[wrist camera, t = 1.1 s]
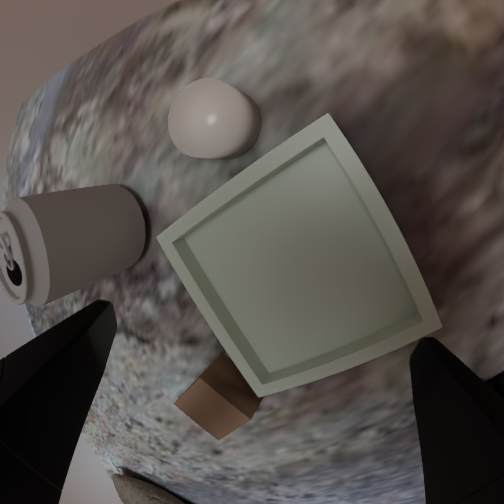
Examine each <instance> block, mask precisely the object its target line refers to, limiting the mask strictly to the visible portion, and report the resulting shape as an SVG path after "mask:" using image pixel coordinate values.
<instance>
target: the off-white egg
mask: <svg viewBox="0 0 504 504" xmlns="http://www.w3.org/2000/svg"><path fill="white" fill-rule="evenodd" d="M168 130H169V134H170V137H171V139H172V141H173V143H174V144H175V146H176V147H177V148H178V149H179V150H180V151H181V152H183V153H184V154H186V155H188V156H191V157H195V158H211V159H233V158H237V157H239V156H241V155H243V154H245V153H246V152H247V151H248V150H250V148H251V147H252V146H253V145H254V144H255V142H256V140H257V139H258V136H259V134H260V130H261V114H260V111H259V108H258V106H257V104H256V103H255V102H254V100H253V99H252V98H251V97H249V96H248V95H246V94H245V93H243V92H241V91H240V90H238V89H236V88H234V87H232V86H231V85H229V84H227V83H225V82H223V81H221V80H218V79H214V78H204V79H199V80H196V81H194V82H192V83H190V84H188V85H187V86H186V87H184V88H183V89H182V90H181V91H180V92H179V93H178V95H177V96H176V98H175V99H174V101H173V103H172V105H171V108H170V111H169V116H168Z"/></svg>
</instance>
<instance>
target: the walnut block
mask: <svg viewBox="0 0 504 504" xmlns="http://www.w3.org/2000/svg"><path fill="white" fill-rule="evenodd" d="M263 397H264V396H263ZM263 397H259V398H258V396H257V395H256V393H255V392H254V391H253V389H252V388H251V386H250V385H249V384H248V382H247V381H246V379H245V378H244V376H243V375H242V374H241V372H240V371H239V369H238V368H237V366H236V365H235V363H234V362H233V361H232V360H231V359H230V358H228V357H227V356H226V355H225V354H224V353H223V352H222V353H221V354H220V355H219V356H218V357H217V358H216V359H215V360H214V361H213V363H212V364H211V365H210V366H209V367H208V368H207V369H206V370H205V371H204V372H203V373H202V374H201V375H200V376H199V377H198V378H197V379H196V380H195V381H194V383H193V384H192V385H191V386H190V387H189V388H188V389H187V390H186V391H185V392H184V393H183V394H182V396H181V397H180V398H179V399H178V400H177V401H176V402H175V403H174V404H175V405H176V406H177V407H178V408H179V409H180V410H182V411H183V412H184V413H185V414H186V415H187V416H189V417H190V418H191V419H192V420H193V421H195V422H196V423H197V424H198V425H200V426H201V427H202V428H203V429H205V430H206V431H207V432H208V433H210V434H211V435H212V436H213V437H215V438H216V439H217V440H220V439H222V438H223V437H225V436H226V435H228V434H229V433H231V432H233V431H234V430H236V429H237V428H239V427H240V426H242V425H243V424H245V423H246V422H248V421H249V420H251V418H252V416H253V415H254V413H255V411H256V409H257V408H258V406H259V404H260V402H261V401H262V399H263Z"/></svg>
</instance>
